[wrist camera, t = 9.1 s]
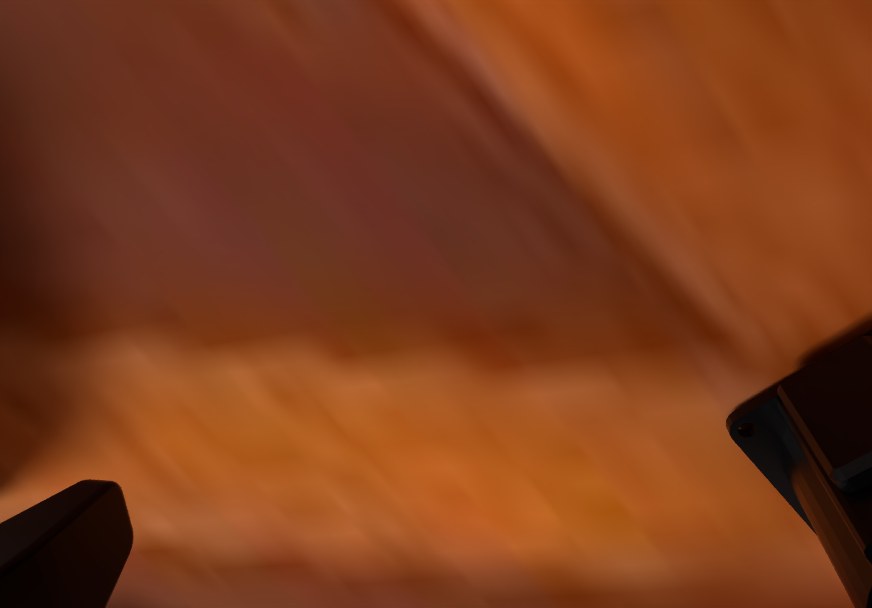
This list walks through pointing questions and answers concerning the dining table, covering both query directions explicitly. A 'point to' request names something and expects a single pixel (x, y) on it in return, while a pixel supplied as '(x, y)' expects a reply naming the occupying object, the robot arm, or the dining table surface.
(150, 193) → the dining table surface
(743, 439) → the robot arm
